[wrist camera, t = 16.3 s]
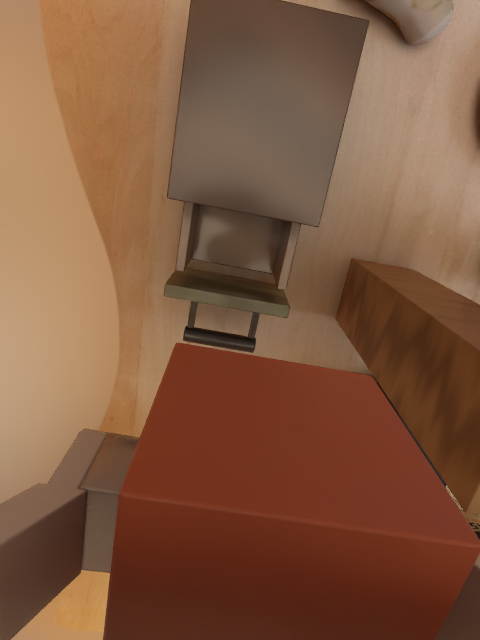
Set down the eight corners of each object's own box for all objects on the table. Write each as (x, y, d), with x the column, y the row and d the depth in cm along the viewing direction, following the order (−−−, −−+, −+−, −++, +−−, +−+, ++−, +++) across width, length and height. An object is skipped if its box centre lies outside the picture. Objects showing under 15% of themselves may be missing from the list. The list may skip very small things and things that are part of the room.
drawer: (270, 336, 45) (276, 364, 38) (170, 318, 45) (157, 344, 38) (309, 165, 39) (324, 162, 32) (194, 141, 39) (184, 134, 32)
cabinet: (302, 217, 42) (318, 227, 33) (182, 193, 41) (166, 198, 32) (339, 56, 37) (369, 19, 28) (204, 26, 36) (192, -20, 28)
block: (322, 524, 11) (377, 754, 6) (153, 499, 10) (93, 723, 6) (372, 374, 9) (486, 547, 5) (175, 341, 9) (118, 493, 5)
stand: (394, 329, 46) (602, 534, 20) (335, 318, 45) (465, 513, 19) (414, 269, 44) (680, 411, 17) (351, 258, 43) (526, 384, 17)
